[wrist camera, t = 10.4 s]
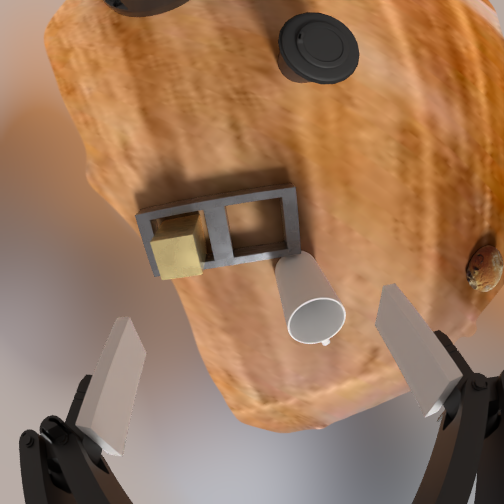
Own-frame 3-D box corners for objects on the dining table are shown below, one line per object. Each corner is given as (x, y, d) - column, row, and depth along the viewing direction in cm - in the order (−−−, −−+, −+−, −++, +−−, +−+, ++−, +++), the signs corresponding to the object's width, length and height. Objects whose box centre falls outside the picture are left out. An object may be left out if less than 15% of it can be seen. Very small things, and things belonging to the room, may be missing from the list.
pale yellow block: (163, 220, 36) (149, 242, 29) (199, 214, 36) (192, 234, 29) (172, 253, 38) (162, 280, 32) (206, 248, 38) (202, 274, 32)
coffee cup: (257, 42, 26) (267, 14, 17) (318, 32, 26) (348, 5, 17) (278, 99, 30) (296, 90, 21) (338, 87, 29) (374, 77, 20)
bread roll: (471, 275, 49) (496, 290, 43) (458, 289, 45) (486, 307, 39) (483, 237, 45) (510, 250, 39) (472, 246, 41) (504, 262, 34)
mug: (265, 259, 39) (278, 313, 28) (309, 240, 38) (338, 287, 28) (290, 309, 44) (306, 366, 33) (328, 293, 43) (355, 345, 32)
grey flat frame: (140, 209, 35) (135, 215, 32) (291, 182, 35) (295, 187, 32) (158, 267, 39) (154, 276, 36) (297, 245, 39) (301, 253, 36)
